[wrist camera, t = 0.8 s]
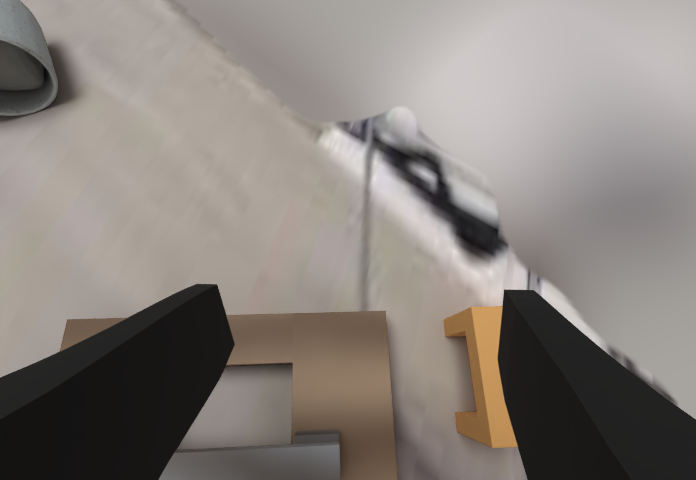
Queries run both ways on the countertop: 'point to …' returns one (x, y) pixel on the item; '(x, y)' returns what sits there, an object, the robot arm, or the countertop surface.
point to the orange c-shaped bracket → (483, 377)
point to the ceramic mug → (24, 62)
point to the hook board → (303, 398)
